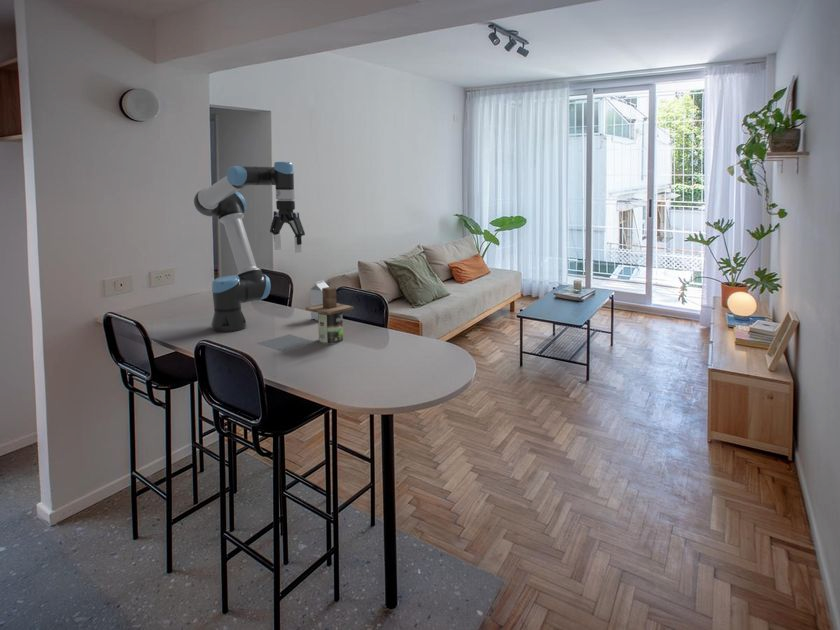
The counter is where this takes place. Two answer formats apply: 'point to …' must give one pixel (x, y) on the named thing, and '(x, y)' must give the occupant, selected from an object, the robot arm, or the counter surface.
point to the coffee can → (330, 328)
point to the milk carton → (317, 296)
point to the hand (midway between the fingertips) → (287, 251)
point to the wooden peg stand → (329, 303)
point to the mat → (286, 342)
